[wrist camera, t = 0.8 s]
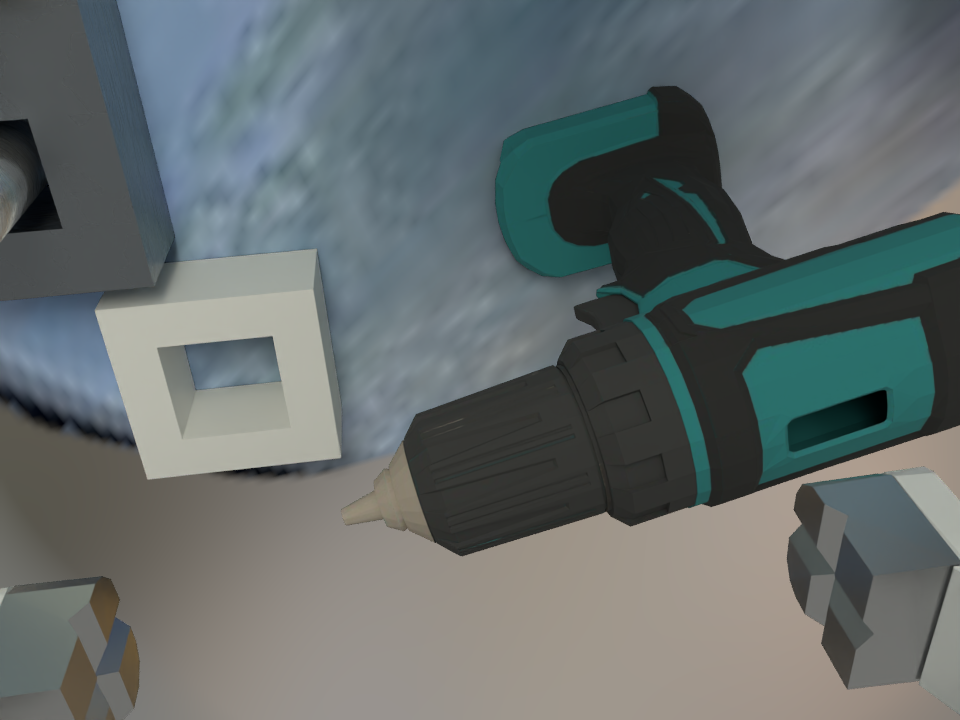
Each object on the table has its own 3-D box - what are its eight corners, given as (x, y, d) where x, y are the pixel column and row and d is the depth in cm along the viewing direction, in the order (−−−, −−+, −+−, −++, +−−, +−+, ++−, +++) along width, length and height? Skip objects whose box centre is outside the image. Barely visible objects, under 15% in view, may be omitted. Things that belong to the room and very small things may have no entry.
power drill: (371, 320, 53) (382, 658, 32) (320, 180, 49) (294, 470, 28) (801, 200, 53) (1100, 466, 32) (792, 46, 48) (1139, 239, 27)
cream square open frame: (116, 267, 50) (94, 310, 46) (316, 248, 51) (313, 289, 46) (163, 428, 56) (147, 479, 51) (342, 409, 56) (341, 458, 52)
